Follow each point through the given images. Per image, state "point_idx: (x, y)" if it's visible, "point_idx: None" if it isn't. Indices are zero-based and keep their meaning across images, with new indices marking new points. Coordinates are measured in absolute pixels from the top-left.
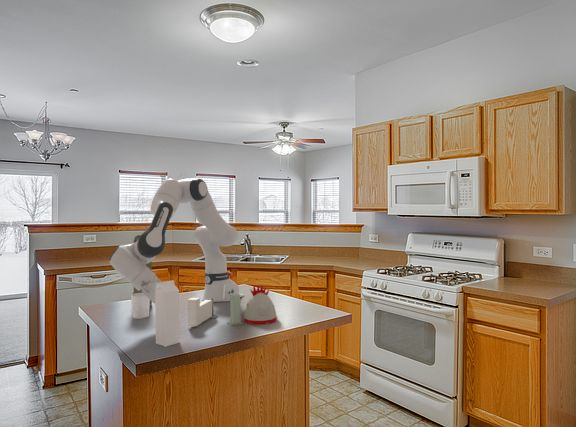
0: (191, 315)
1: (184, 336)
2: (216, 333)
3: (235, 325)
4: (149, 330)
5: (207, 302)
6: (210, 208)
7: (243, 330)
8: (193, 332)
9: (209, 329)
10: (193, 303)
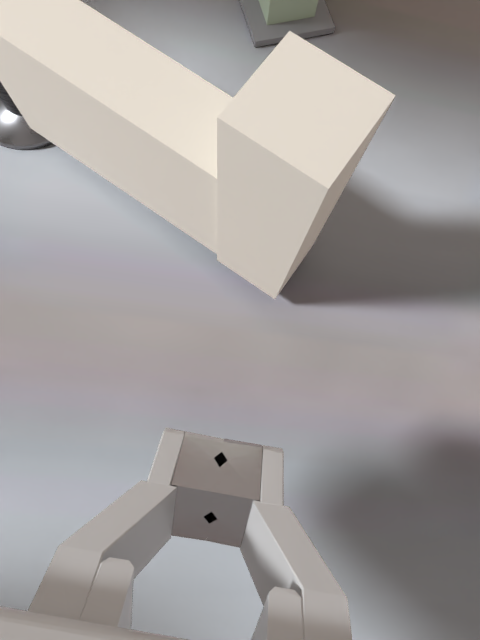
0: (309, 241)
1: (466, 356)
2: (458, 153)
3: (327, 16)
4: (207, 622)
5: (99, 13)
6: None
7: (442, 6)
8: (389, 284)
9: (353, 174)
10: (360, 154)
